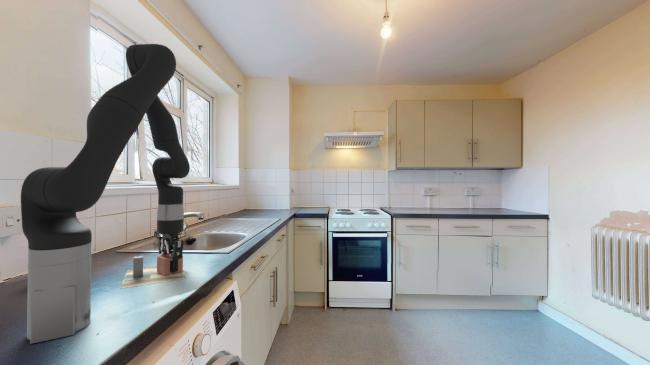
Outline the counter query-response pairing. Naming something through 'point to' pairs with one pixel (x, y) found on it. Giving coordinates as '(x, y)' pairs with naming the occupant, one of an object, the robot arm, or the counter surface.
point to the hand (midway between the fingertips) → (169, 269)
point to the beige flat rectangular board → (150, 277)
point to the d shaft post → (138, 266)
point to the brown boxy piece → (167, 264)
